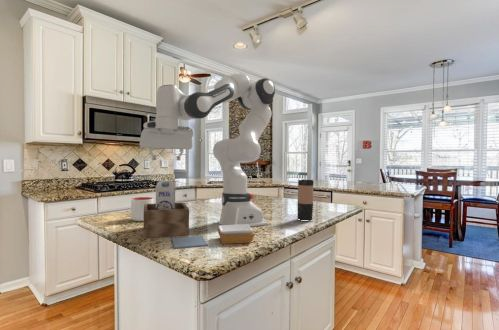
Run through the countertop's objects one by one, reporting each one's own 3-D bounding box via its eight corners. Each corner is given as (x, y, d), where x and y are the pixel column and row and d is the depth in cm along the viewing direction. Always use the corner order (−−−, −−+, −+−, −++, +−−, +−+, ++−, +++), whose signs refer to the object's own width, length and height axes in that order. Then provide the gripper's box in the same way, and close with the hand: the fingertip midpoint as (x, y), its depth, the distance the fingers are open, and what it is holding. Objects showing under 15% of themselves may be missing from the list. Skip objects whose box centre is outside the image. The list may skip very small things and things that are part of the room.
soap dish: (249, 236, 109) (249, 223, 109) (254, 244, 99) (254, 230, 99) (216, 237, 106) (216, 224, 106) (219, 245, 97) (219, 231, 97)
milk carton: (175, 228, 117) (175, 181, 117) (173, 233, 111) (174, 182, 110) (157, 229, 116) (158, 180, 116) (154, 233, 110) (155, 182, 109)
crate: (183, 225, 124) (183, 202, 124) (188, 234, 109) (189, 209, 108) (143, 227, 118) (144, 203, 118) (143, 238, 103) (143, 210, 103)
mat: (201, 237, 106) (201, 235, 106) (207, 245, 96) (207, 244, 96) (171, 239, 102) (171, 237, 102) (174, 248, 92) (174, 247, 92)
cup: (126, 219, 133) (126, 198, 132) (145, 216, 141) (145, 196, 141) (139, 222, 127) (139, 200, 127) (157, 219, 135) (158, 198, 135)
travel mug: (314, 222, 136) (315, 180, 136) (298, 221, 137) (299, 180, 136) (310, 218, 144) (311, 179, 144) (295, 218, 144) (296, 179, 144)
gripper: (192, 127, 119) (191, 160, 119) (140, 124, 112) (139, 159, 113) (194, 126, 113) (193, 160, 114) (139, 123, 106) (139, 159, 107)
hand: (166, 160), depth 113 cm, fingers open, 8 cm apart
